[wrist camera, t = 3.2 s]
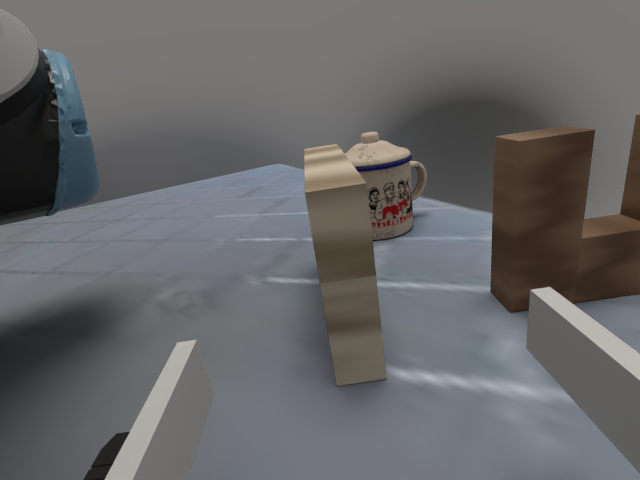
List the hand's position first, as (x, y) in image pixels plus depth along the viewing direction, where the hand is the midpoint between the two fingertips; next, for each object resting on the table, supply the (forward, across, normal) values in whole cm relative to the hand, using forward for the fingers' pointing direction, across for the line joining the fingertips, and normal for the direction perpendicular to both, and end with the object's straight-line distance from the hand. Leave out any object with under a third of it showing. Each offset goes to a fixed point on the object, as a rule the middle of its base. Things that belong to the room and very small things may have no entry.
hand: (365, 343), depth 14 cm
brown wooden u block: (+12, +18, -7) cm, 23 cm away
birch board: (+14, 0, -7) cm, 15 cm away
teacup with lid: (+32, +7, -7) cm, 33 cm away
